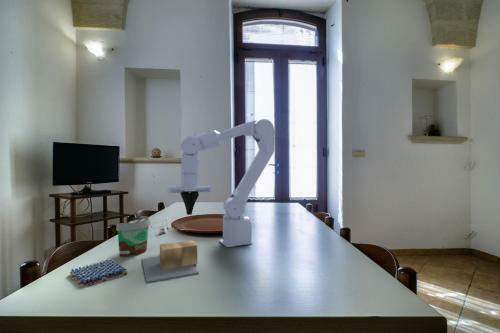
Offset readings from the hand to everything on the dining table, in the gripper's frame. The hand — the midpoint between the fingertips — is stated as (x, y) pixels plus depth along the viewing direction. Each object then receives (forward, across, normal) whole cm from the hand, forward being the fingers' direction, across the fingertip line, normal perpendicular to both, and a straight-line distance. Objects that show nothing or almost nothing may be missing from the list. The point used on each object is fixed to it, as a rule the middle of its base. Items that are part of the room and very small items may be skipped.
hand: (189, 214), depth 88 cm
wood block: (+8, -2, -16) cm, 18 cm away
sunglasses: (+11, -7, +25) cm, 29 cm away
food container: (+11, -16, 0) cm, 19 cm away
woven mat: (+12, -25, -14) cm, 31 cm away
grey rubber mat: (+10, -9, -16) cm, 21 cm away
